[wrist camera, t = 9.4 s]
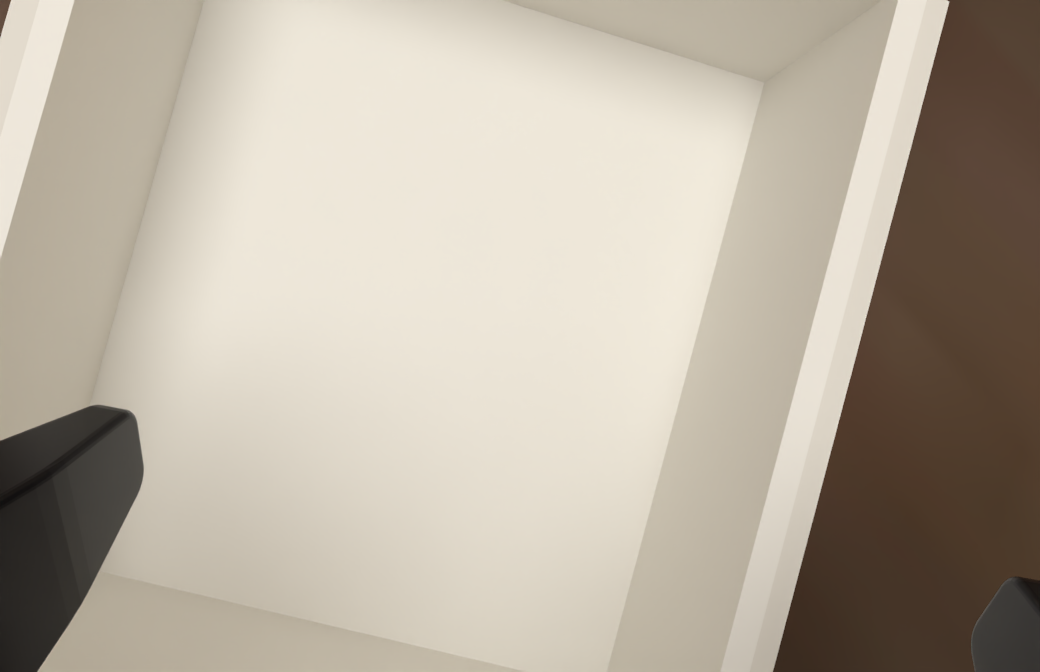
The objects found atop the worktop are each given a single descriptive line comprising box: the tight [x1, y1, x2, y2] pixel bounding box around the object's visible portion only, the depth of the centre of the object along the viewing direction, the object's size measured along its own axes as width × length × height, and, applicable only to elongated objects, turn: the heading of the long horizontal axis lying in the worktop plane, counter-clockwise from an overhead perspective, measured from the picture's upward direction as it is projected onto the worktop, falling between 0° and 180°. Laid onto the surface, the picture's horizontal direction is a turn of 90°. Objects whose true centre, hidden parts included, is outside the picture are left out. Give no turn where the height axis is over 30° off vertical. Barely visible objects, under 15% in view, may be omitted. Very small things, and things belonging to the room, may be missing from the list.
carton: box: [0, 0, 949, 672], centre depth 19 cm, size 16×15×7 cm
